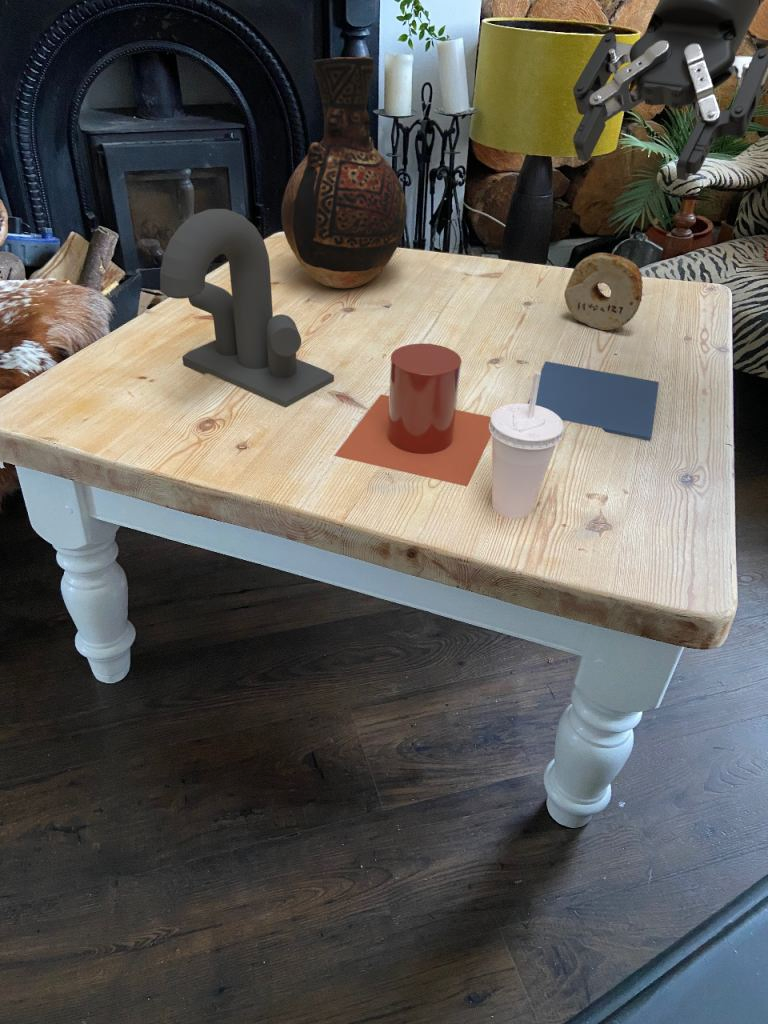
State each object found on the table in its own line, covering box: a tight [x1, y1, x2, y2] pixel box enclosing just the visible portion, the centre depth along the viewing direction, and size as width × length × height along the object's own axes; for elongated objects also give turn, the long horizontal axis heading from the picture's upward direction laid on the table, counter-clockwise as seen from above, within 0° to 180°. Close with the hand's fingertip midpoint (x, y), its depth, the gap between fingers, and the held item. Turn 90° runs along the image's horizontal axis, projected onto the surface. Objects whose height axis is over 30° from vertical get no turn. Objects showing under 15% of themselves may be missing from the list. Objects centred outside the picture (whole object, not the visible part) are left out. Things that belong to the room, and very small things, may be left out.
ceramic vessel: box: [280, 56, 408, 289], centre depth 107 cm, size 21×18×30 cm
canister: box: [388, 343, 462, 454], centre depth 76 cm, size 7×7×9 cm
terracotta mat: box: [333, 393, 492, 487], centre depth 79 cm, size 14×14×1 cm
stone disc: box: [564, 252, 644, 331], centre depth 102 cm, size 10×4×10 cm, turn 54°
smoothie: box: [489, 370, 565, 520], centre depth 66 cm, size 6×6×14 cm
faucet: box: [159, 208, 335, 409], centre depth 81 cm, size 18×16×20 cm
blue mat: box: [526, 360, 660, 441], centre depth 88 cm, size 14×14×1 cm
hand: (629, 164), depth 60 cm, fingers open, 8 cm apart
